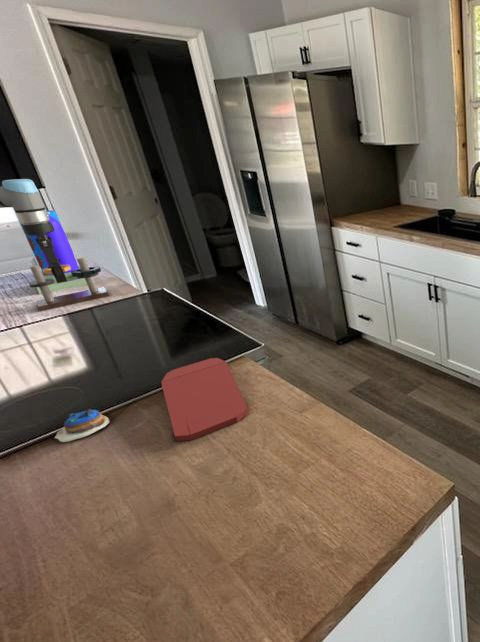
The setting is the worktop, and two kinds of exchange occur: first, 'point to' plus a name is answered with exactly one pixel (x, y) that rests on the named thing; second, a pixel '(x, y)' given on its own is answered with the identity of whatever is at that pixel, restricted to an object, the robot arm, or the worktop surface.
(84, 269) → the rack
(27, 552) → the worktop surface
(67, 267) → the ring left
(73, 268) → the bottle
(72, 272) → the ring right
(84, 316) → the worktop surface
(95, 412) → the dessert
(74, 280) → the tray
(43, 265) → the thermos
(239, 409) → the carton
